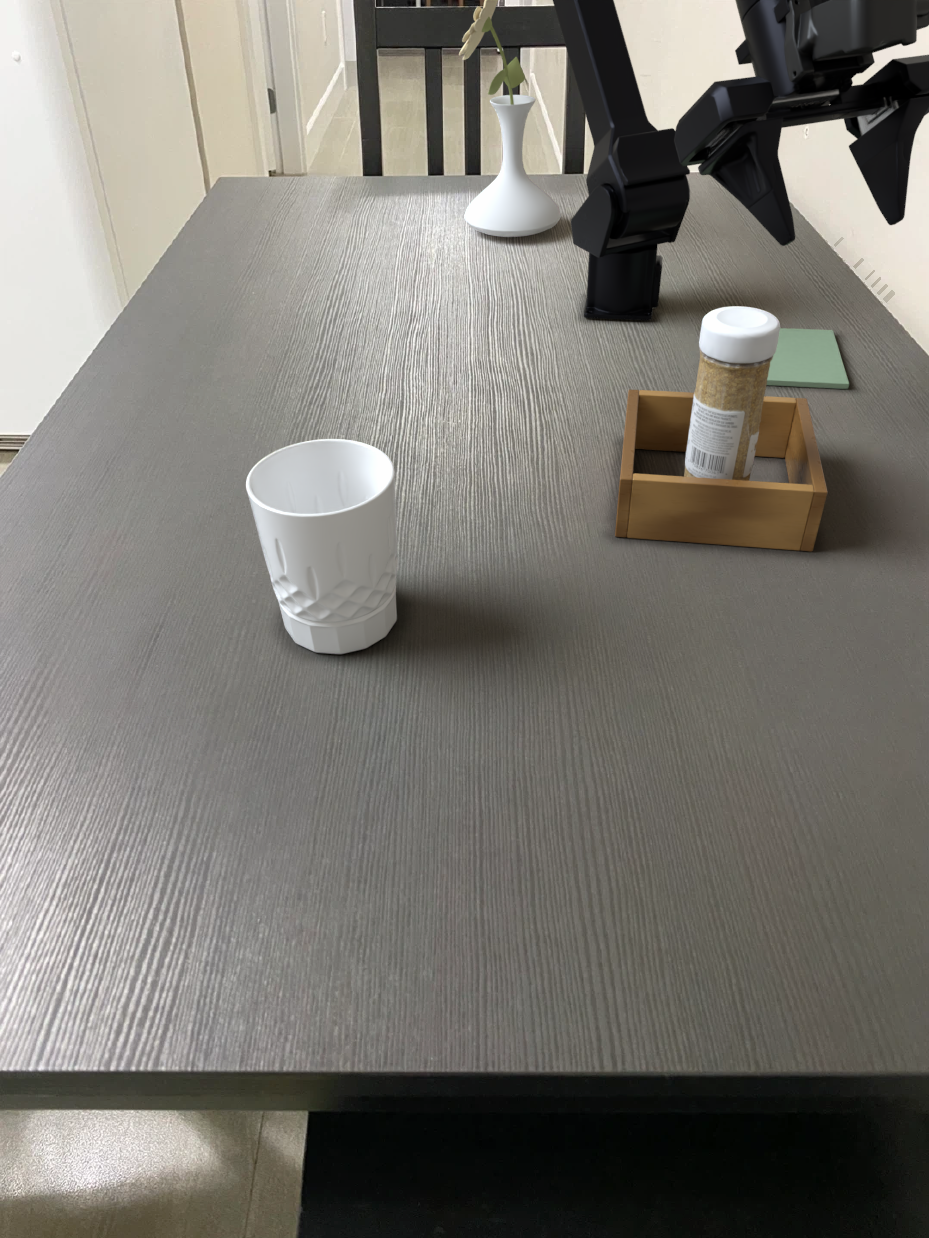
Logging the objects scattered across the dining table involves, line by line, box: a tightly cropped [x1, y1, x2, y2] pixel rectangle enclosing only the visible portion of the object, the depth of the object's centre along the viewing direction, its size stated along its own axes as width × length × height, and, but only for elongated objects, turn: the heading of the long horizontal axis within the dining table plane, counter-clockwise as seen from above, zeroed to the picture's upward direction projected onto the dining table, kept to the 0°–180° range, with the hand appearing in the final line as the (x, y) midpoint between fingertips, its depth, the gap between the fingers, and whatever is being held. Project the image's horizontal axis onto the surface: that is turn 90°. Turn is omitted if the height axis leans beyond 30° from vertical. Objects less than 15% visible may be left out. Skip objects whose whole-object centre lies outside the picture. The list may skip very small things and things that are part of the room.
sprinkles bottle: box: [683, 305, 781, 481], centre depth 60 cm, size 5×5×14 cm
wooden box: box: [614, 389, 829, 552], centre depth 64 cm, size 13×13×4 cm
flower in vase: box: [458, 0, 562, 238], centre depth 103 cm, size 13×11×25 cm
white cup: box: [245, 438, 399, 655], centre depth 53 cm, size 8×8×10 cm
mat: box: [766, 327, 850, 390], centre depth 82 cm, size 11×11×1 cm
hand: (844, 232), depth 64 cm, fingers open, 9 cm apart
